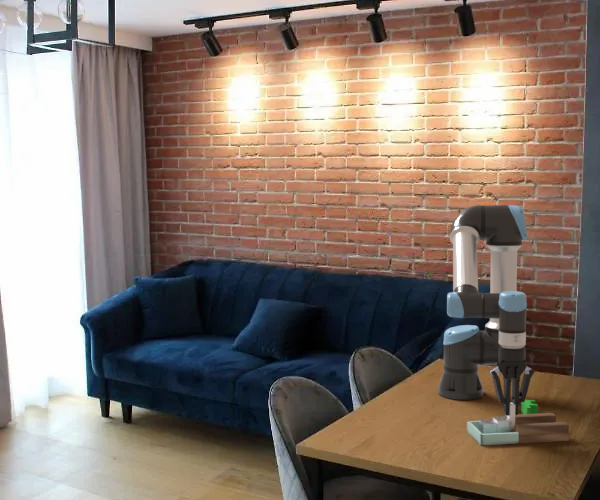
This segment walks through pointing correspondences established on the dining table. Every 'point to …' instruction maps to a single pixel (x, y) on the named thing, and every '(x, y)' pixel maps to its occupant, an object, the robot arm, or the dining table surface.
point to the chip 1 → (487, 426)
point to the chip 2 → (503, 424)
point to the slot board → (540, 428)
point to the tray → (491, 435)
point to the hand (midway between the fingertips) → (510, 425)
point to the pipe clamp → (529, 407)
